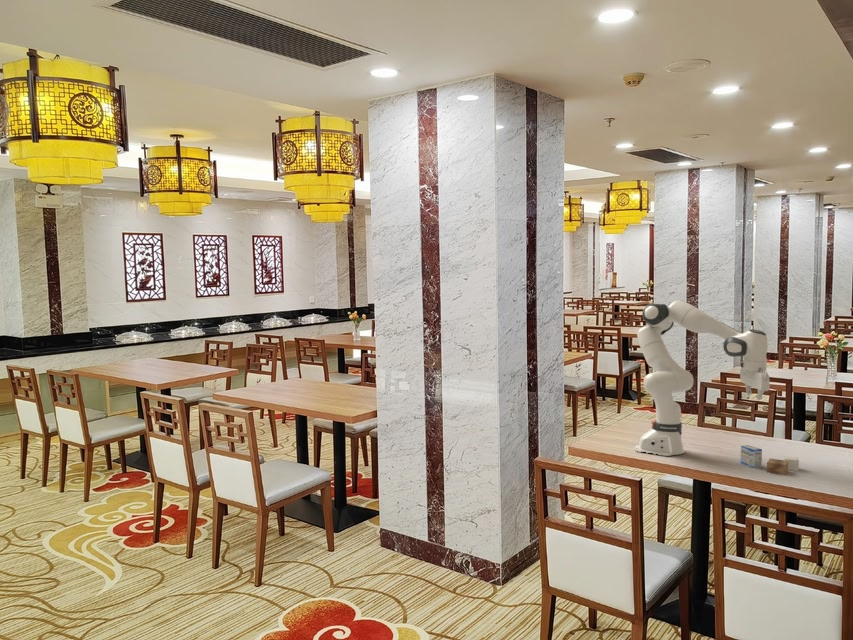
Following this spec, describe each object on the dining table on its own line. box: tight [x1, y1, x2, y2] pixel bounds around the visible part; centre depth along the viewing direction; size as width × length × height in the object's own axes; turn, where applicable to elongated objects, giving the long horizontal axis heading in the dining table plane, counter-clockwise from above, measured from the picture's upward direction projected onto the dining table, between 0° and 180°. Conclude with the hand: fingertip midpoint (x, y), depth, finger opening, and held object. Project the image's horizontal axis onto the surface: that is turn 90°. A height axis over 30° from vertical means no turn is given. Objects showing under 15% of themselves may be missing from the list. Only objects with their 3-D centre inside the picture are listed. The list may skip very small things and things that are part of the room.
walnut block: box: [766, 458, 789, 476], centre depth 286 cm, size 7×7×5 cm
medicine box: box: [740, 444, 763, 469], centre depth 296 cm, size 8×4×9 cm, turn 19°
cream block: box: [783, 455, 800, 472], centre depth 291 cm, size 5×5×5 cm
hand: (753, 396), depth 299 cm, fingers open, 8 cm apart
